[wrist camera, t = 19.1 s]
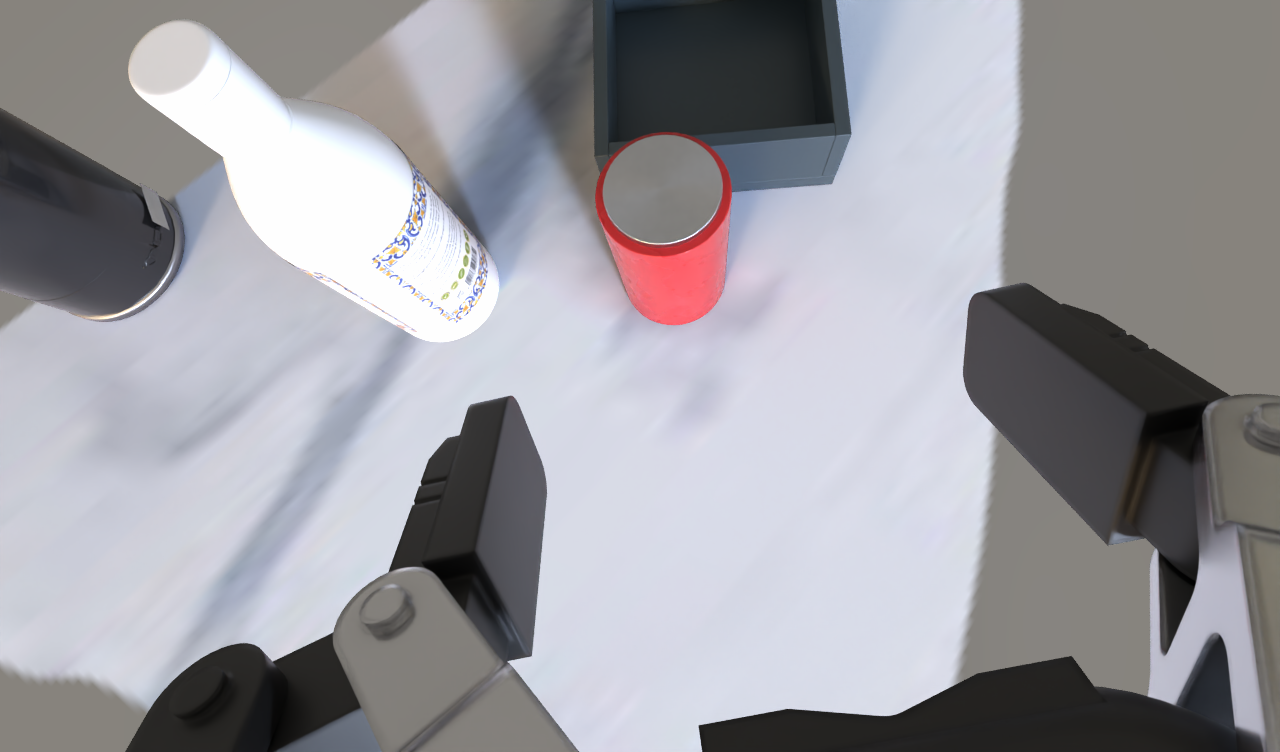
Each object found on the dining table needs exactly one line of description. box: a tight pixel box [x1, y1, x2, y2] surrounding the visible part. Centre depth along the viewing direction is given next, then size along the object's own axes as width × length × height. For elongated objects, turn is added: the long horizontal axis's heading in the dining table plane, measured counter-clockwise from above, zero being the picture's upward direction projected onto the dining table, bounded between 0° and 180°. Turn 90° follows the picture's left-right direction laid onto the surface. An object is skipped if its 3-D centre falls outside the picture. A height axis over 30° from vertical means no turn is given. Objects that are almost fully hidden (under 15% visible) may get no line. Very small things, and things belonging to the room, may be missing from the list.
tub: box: [593, 0, 851, 192], centre depth 36 cm, size 14×14×5 cm
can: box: [595, 132, 732, 325], centre depth 31 cm, size 6×6×10 cm
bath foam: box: [128, 19, 499, 342], centre depth 28 cm, size 7×7×20 cm
